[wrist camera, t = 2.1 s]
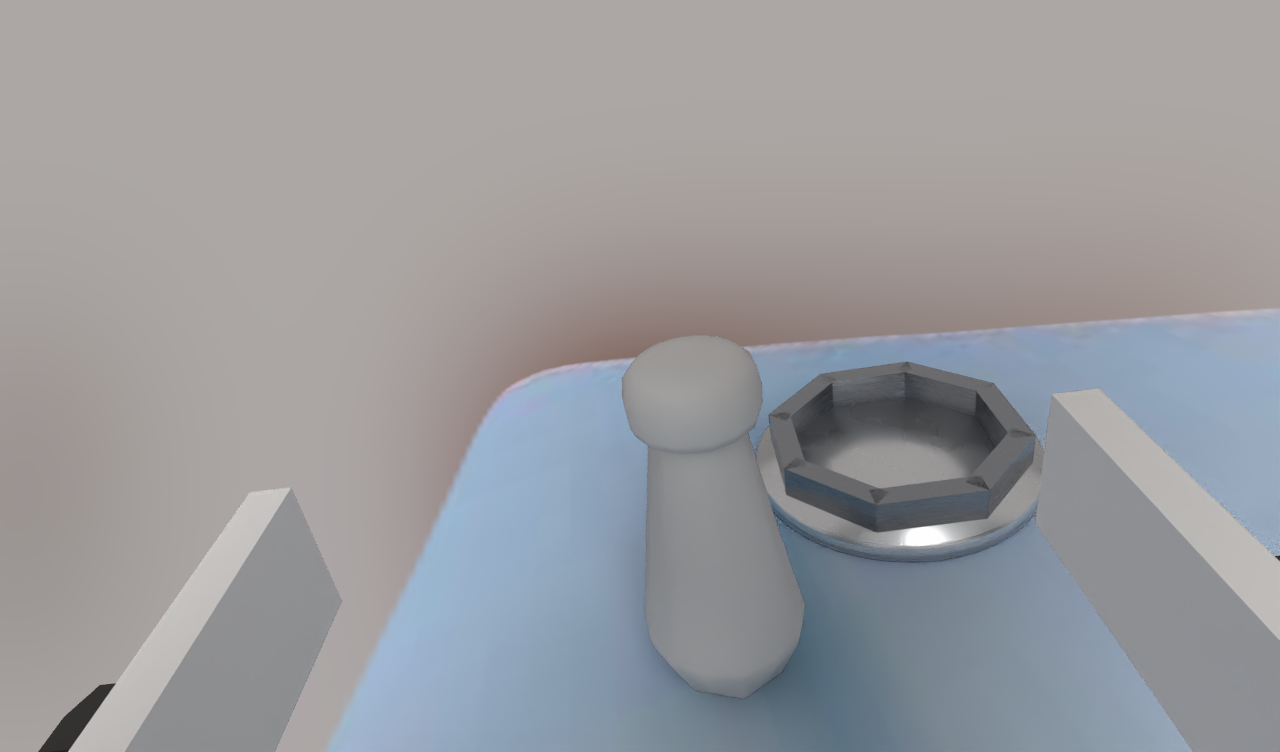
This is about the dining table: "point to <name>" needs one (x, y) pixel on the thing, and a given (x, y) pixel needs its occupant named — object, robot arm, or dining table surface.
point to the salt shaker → (710, 519)
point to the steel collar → (901, 463)
